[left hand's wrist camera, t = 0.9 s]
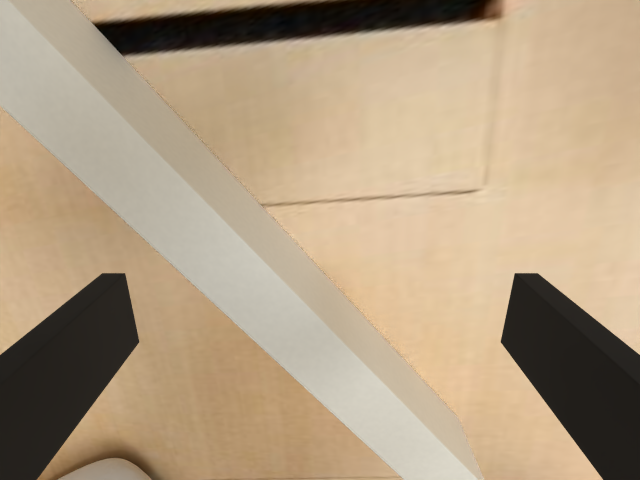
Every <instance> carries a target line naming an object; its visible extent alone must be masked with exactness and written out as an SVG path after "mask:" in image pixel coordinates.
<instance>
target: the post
mask: <svg viewBox="0 0 640 480" xmlns="http://www.w3.org/2000/svg"><path fill="white" fill-rule="evenodd" d="M0 106H1V107H2V108H3V109H4V110H5V111H6V112H7V113H8V114H10V115H11V116H12V117H13V118H14V119H15V120H16V121H17V122H18V123H19V124H20V125H21V126H23V127H24V128H25V129H26V130H27V131H28V132H29V133H30V134H31V135H32V136H33V137H34V138H35V139H37V140H38V141H39V142H40V143H41V144H42V145H43V146H44V147H45V148H46V149H47V150H48V151H50V152H51V153H52V154H53V155H54V156H55V157H56V158H57V159H58V160H59V161H60V162H61V163H62V164H64V165H65V166H66V167H67V168H68V169H69V170H70V171H71V172H72V173H73V174H74V175H75V176H77V177H78V178H79V179H80V180H81V181H82V182H83V183H84V184H85V185H86V186H87V187H88V188H89V189H91V190H92V191H93V192H94V193H95V194H96V195H97V196H98V197H99V198H100V199H101V200H102V201H104V202H105V203H106V204H107V205H108V206H109V207H110V208H111V209H112V210H113V211H114V212H115V213H116V214H118V215H119V216H120V217H121V218H122V219H123V220H124V221H125V222H126V223H127V224H128V225H129V226H131V227H132V228H133V229H134V230H135V231H136V232H137V233H138V234H139V235H140V236H141V237H142V238H143V239H145V240H146V241H147V242H148V243H149V244H150V245H151V246H152V247H153V248H154V249H155V250H156V251H158V252H159V253H160V254H161V255H162V256H163V257H164V258H165V259H166V260H167V261H168V262H169V263H170V264H172V265H173V266H174V267H175V268H176V269H177V270H178V271H179V272H180V273H181V274H182V275H183V276H185V277H186V278H187V279H188V280H189V281H190V282H191V283H192V284H193V285H194V286H195V287H196V288H197V289H199V290H200V291H201V292H202V293H203V294H204V295H205V296H206V297H207V298H208V299H209V300H210V301H212V302H213V303H214V304H215V305H216V306H217V307H218V308H219V309H220V310H221V311H222V312H223V313H224V314H226V315H227V316H228V317H229V318H230V319H231V320H232V321H233V322H234V323H235V324H236V325H237V326H239V327H240V328H241V329H242V330H243V331H244V332H245V333H246V334H247V335H248V336H249V337H250V338H251V339H253V340H254V341H255V342H256V343H257V344H258V345H259V346H260V347H261V348H262V349H263V350H264V351H266V352H267V353H268V354H269V355H270V356H271V357H272V358H273V359H274V360H275V361H276V362H277V363H278V364H280V365H281V366H282V367H283V368H284V369H285V370H286V371H287V372H288V373H289V374H290V375H291V376H293V377H294V378H295V379H296V380H297V381H298V382H299V383H300V384H301V385H302V386H303V387H304V388H305V389H307V390H308V391H309V392H310V393H311V394H312V395H313V396H314V397H315V398H316V399H317V400H318V401H320V402H321V403H322V404H323V405H324V406H325V407H326V408H327V409H328V410H329V411H330V412H331V413H332V414H334V415H335V416H336V417H337V418H338V419H339V420H340V421H341V422H342V423H343V424H344V425H345V426H347V427H348V428H349V429H350V430H351V431H352V432H353V433H354V434H355V435H356V436H357V437H358V438H359V439H361V440H362V441H363V442H364V443H365V444H366V445H367V446H368V447H369V448H370V449H371V450H372V451H374V452H375V453H376V454H377V455H378V456H379V457H380V458H381V459H382V460H383V461H384V462H385V463H386V464H388V465H389V466H390V467H391V468H392V469H393V470H394V471H395V472H396V473H397V474H398V475H399V476H401V477H402V478H403V479H404V480H484V477H483V475H482V473H481V470H480V468H479V466H478V463H477V461H476V458H475V456H474V454H473V451H472V449H471V447H470V444H469V442H468V439H467V437H466V435H465V432H464V430H463V428H462V425H461V423H460V420H459V418H458V417H457V416H456V415H455V414H454V412H453V411H452V410H451V409H450V408H449V407H448V406H447V405H446V404H445V403H444V402H443V401H442V400H441V398H440V397H439V396H438V395H437V394H436V393H435V392H434V391H433V390H432V389H431V388H430V387H429V386H428V384H427V383H426V382H425V381H424V380H423V379H422V378H421V377H420V376H419V375H418V374H417V373H416V372H415V370H414V369H413V368H412V367H411V366H410V365H409V364H408V363H407V362H406V361H405V360H404V359H403V358H402V356H401V355H400V354H399V353H398V352H397V351H396V350H395V349H394V348H393V347H392V346H391V345H390V344H389V342H388V341H387V340H386V339H385V338H384V337H383V336H382V335H381V334H380V333H379V332H378V331H377V330H376V328H375V327H374V326H373V325H372V324H371V323H370V322H369V321H368V320H367V319H366V318H365V317H364V316H363V314H362V313H361V312H360V311H359V310H358V309H357V308H356V307H355V306H354V305H353V304H352V303H351V302H350V300H349V299H348V298H347V297H346V296H345V295H344V294H343V293H342V292H341V291H340V290H339V289H338V288H337V286H336V285H335V284H334V283H333V282H332V281H331V280H330V279H329V278H328V277H327V276H326V275H325V274H324V272H323V271H322V270H321V269H320V268H319V267H318V266H317V265H316V264H315V263H314V262H313V261H312V260H311V258H310V257H309V256H308V255H307V254H306V253H305V252H304V251H303V250H302V249H301V248H300V247H299V246H298V244H297V243H296V242H295V241H294V240H293V239H292V238H291V237H290V236H289V235H288V234H287V233H286V232H285V230H284V229H283V228H282V227H281V226H280V225H279V224H278V223H277V222H276V221H275V220H274V219H273V218H272V216H271V215H270V214H269V213H268V212H267V211H266V210H265V209H264V208H263V207H262V206H261V205H260V204H259V202H258V201H257V200H256V199H255V198H254V197H253V196H252V195H251V194H250V193H249V192H248V191H247V190H246V188H245V187H244V186H243V185H242V184H241V183H240V182H239V181H238V180H237V179H236V178H235V177H234V176H233V174H232V173H231V172H230V171H229V170H228V169H227V168H226V167H225V166H224V165H223V164H222V163H221V162H220V160H219V159H218V158H217V157H216V156H215V155H214V154H213V153H212V152H211V151H210V150H209V149H208V148H207V146H206V145H205V144H204V143H203V142H202V141H201V140H200V139H199V138H198V137H197V136H196V135H195V134H194V132H193V131H192V130H191V129H190V128H189V127H188V126H187V125H186V124H185V123H184V122H183V121H182V120H181V118H180V117H179V116H178V115H177V114H176V113H175V112H174V111H173V110H172V109H171V108H170V107H169V106H168V104H167V103H166V102H165V101H164V100H163V99H162V98H161V97H160V96H159V95H158V94H157V93H156V92H155V90H154V89H153V88H152V87H151V86H150V85H149V84H148V83H147V82H146V81H145V80H144V79H143V78H142V76H141V75H140V74H139V73H138V72H137V71H136V70H135V69H134V68H133V67H132V66H131V65H130V64H129V62H128V61H127V60H126V59H125V58H124V57H123V56H122V55H121V54H120V53H119V52H118V51H117V50H116V48H115V47H114V46H113V45H112V44H111V43H110V42H109V41H108V40H107V39H106V38H105V37H104V36H103V34H102V33H101V32H100V31H99V30H98V29H97V28H96V27H95V26H94V25H93V24H92V23H91V22H90V20H89V19H88V18H87V17H86V16H85V15H84V14H83V13H82V12H81V11H80V10H79V9H78V8H77V6H76V5H75V4H74V3H73V2H72V1H71V0H0Z"/></svg>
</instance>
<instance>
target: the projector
mask: <svg viewBox="0 0 640 480" xmlns="http://www.w3.org/2000/svg"><path fill="white" fill-rule="evenodd" d="M57 480H152V479H151V478H150V477H149V476H148V475H147V474H146V473H144V472H143V471H142V470H141V469H140V468H139V467H137V466H136V465H134V464H133V463H131V462H130V461H128V460H125V459H121V458H108V459H104V460H100V461H97V462H94V463H91V464H89V465H86V466H84V467H82V468H79V469H77V470H75V471H73V472H71V473H69V474H67V475H65V476H63V477H61V478H59V479H57Z"/></svg>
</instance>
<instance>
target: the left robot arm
mask: <svg viewBox="0 0 640 480" xmlns="http://www.w3.org/2000/svg"><path fill="white" fill-rule="evenodd" d="M138 343H139V339H138V334H137V329H136V324H135V319H134V314H133V309H132V304H131V300H130V295H129V290H128V285H127V280H126V275H125V273H102V274H101V275H100V276H99V277H97V278H96V279H95V280H94V281H92V282H91V283H90V284H89V285H87V286H86V287H85V288H84V289H82V290H81V291H80V292H79V293H77V294H76V295H75V296H74V297H72V298H71V299H70V300H69V301H67V302H66V303H65V304H64V305H62V306H61V307H60V308H59V309H57V310H56V311H55V312H54V313H52V314H51V315H50V316H49V317H47V318H46V319H45V320H44V321H42V322H41V323H40V324H39V325H37V326H36V327H35V328H34V329H32V330H31V331H30V332H29V333H27V334H26V335H25V336H24V337H22V338H21V339H20V340H19V341H17V342H16V343H15V344H14V345H12V346H11V347H10V348H9V349H7V350H6V351H5V352H4V353H2V354H1V355H0V480H37V479H38V477H39V476H40V475H41V473H42V472H43V471H44V469H45V468H46V467H47V465H48V464H49V462H50V461H51V460H52V458H53V457H54V456H55V454H56V453H57V452H58V450H59V449H60V448H61V446H62V445H63V444H64V442H65V441H66V440H67V438H68V437H69V436H70V434H71V433H72V432H73V430H74V429H75V428H76V426H77V425H78V424H79V422H80V421H81V420H82V418H83V417H84V415H85V414H86V413H87V411H88V410H89V409H90V407H91V406H92V405H93V403H94V402H95V401H96V399H97V398H98V397H99V395H100V394H101V393H102V391H103V390H104V389H105V387H106V386H107V385H108V383H109V382H110V381H111V379H112V378H113V377H114V375H115V374H116V373H117V371H118V370H119V368H120V367H121V366H122V364H123V363H124V362H125V360H126V359H127V358H128V356H129V355H130V354H131V352H132V351H133V350H134V348H135V347H136V346H137V344H138ZM501 343H502V344H503V346H504V347H505V348H506V350H507V351H508V352H509V354H510V355H511V356H512V358H513V359H514V360H515V362H516V363H517V364H518V366H519V367H520V368H521V370H522V371H523V373H524V374H525V375H526V377H527V378H528V379H529V381H530V382H531V383H532V385H533V386H534V387H535V389H536V390H537V391H538V393H539V394H540V395H541V397H542V398H543V399H544V401H545V402H546V403H547V405H548V406H549V407H550V409H551V410H552V411H553V413H554V414H555V415H556V417H557V418H558V420H559V421H560V422H561V424H562V425H563V426H564V428H565V429H566V430H567V432H568V433H569V434H570V436H571V437H572V438H573V440H574V441H575V442H576V444H577V445H578V446H579V448H580V449H581V450H582V452H583V453H584V454H585V456H586V457H587V458H588V460H589V461H590V462H591V464H592V465H593V467H594V468H595V469H596V471H597V472H598V473H599V475H600V476H601V477H602V479H603V480H640V355H639V354H638V353H636V352H635V351H634V350H633V349H631V348H630V347H629V346H628V345H626V344H625V343H624V342H623V341H621V340H620V339H619V338H618V337H616V336H615V335H614V334H613V333H611V332H610V331H609V330H608V329H606V328H605V327H604V326H603V325H601V324H600V323H599V322H598V321H596V320H595V319H594V318H593V317H591V316H590V315H589V314H588V313H586V312H585V311H584V310H583V309H581V308H580V307H579V306H578V305H576V304H575V303H574V302H573V301H571V300H570V299H569V298H568V297H566V296H565V295H564V294H563V293H561V292H560V291H559V290H558V289H556V288H555V287H554V286H553V285H551V284H550V283H549V282H548V281H546V280H545V279H544V278H543V277H541V276H540V275H539V274H538V273H515V275H514V280H513V285H512V290H511V295H510V300H509V304H508V309H507V314H506V319H505V324H504V329H503V334H502V338H501Z"/></svg>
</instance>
